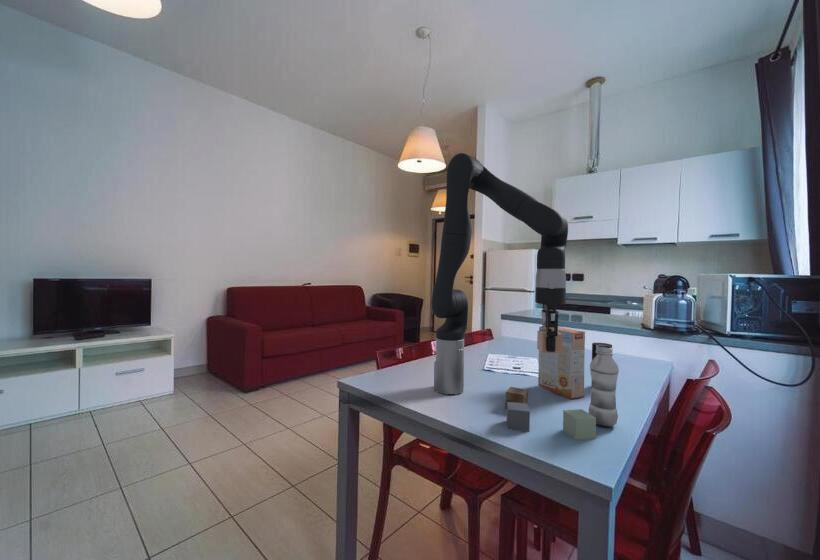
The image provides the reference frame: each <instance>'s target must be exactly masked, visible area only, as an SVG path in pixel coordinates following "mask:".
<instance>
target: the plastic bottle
mask: <svg viewBox="0 0 820 560" xmlns="http://www.w3.org/2000/svg"><path fill="white" fill-rule="evenodd" d="M596 353H597V355H596V357H595V358H594V359H593V360H592V359H591V361H590V364H589V370H590V377H591V380H590V381H591V382H592V387H591V395H590V403H589V406H588V413H589V414H590V415H592V416H594V417H595V418H596V425H598V426H603V427H608V428H609V427H614V426H616V425H617V422H618V419H619V414H618V409H617V398H616V394H617V393H616V390H617V382H618V378H619V372H620V369H619V365H618V364H617V362H616V361H615V359H614V358H613V355H614V352H613V346H612V347H610V346H605V345H597V346H596Z"/></svg>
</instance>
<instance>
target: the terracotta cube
mask: <svg viewBox="0 0 820 560" xmlns="http://www.w3.org/2000/svg"><path fill="white" fill-rule="evenodd" d="M545 334H546V331H539V330H537V336H536V337H537V338H536V339H537V341H536V349H537V350H538V352H539V351H541V352H542V353H559V354H562V334H561V333H559V332H558V335H557V336H556V343H555V352H548V351H546V336H545Z"/></svg>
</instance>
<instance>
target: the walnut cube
mask: <svg viewBox="0 0 820 560" xmlns="http://www.w3.org/2000/svg"><path fill="white" fill-rule="evenodd" d="M528 397H529V389H526V388H525V389H524V388H520V387H514V386H509V388H507V390H506V391H505V410H507V402H514V403H524V404H527V405H528V403H529V398H528ZM528 406H529V405H528Z"/></svg>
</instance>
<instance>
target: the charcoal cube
mask: <svg viewBox="0 0 820 560" xmlns="http://www.w3.org/2000/svg"><path fill="white" fill-rule="evenodd" d="M530 415H531V411H530V408H529V405H527V404H524V403H514V402H507V409H506V424H507V425H508V426H507V430H510V429H512V431H521V432H530V421H531V419H530V417H531V416H530Z"/></svg>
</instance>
